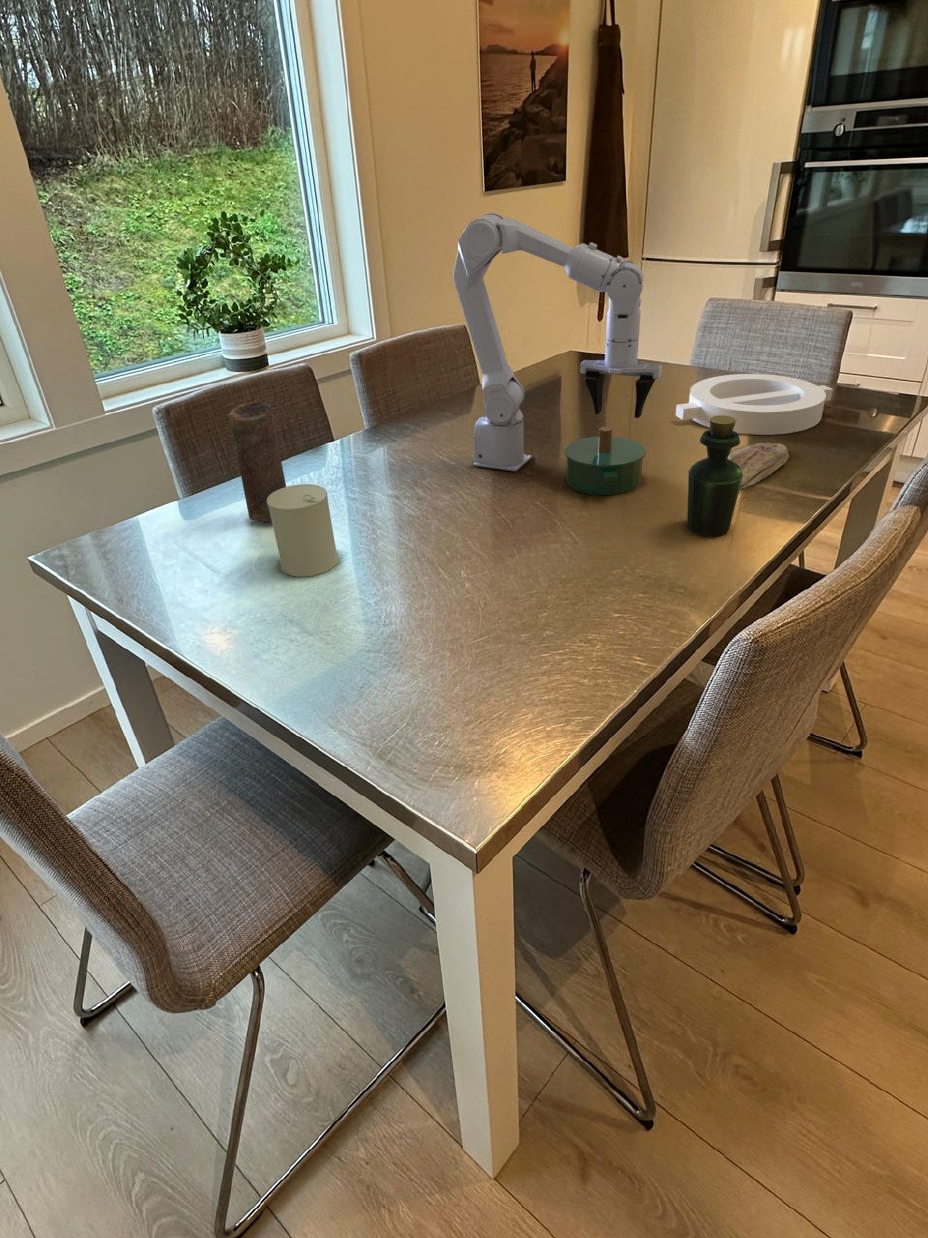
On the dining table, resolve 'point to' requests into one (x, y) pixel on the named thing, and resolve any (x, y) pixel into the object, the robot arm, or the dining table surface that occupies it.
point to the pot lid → (605, 450)
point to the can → (303, 529)
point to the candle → (257, 456)
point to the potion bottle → (714, 481)
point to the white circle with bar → (757, 403)
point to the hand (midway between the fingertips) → (617, 414)
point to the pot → (603, 478)
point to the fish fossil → (759, 461)
